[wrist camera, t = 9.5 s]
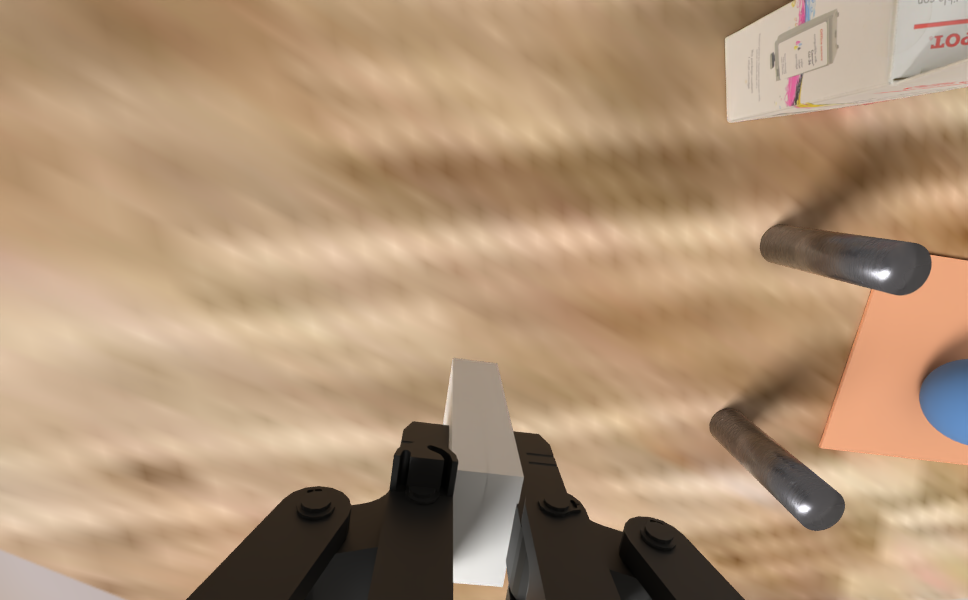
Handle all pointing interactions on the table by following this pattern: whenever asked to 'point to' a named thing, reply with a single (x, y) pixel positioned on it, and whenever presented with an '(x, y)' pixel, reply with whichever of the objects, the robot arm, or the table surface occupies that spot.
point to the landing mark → (902, 369)
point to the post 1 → (778, 471)
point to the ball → (947, 400)
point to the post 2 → (849, 258)
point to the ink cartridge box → (844, 55)
